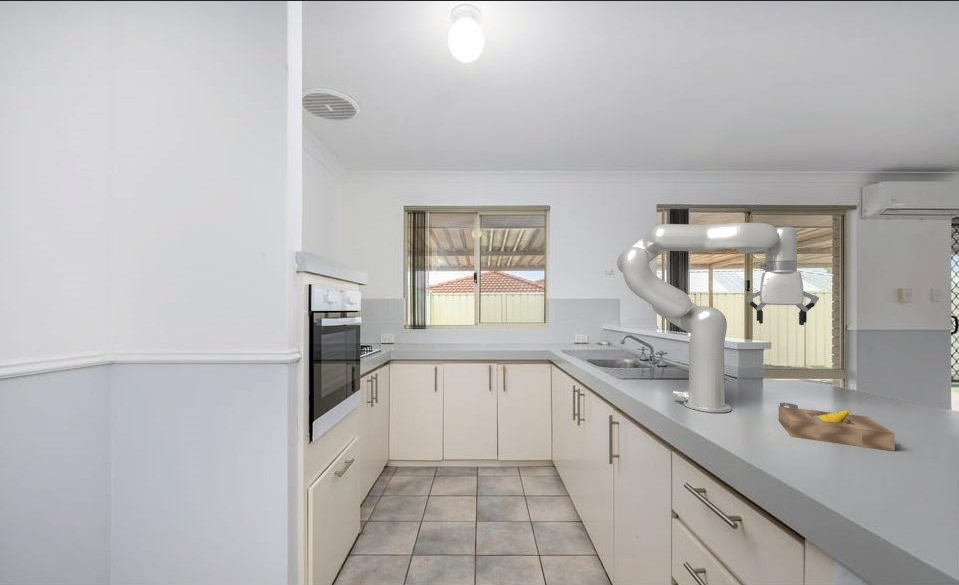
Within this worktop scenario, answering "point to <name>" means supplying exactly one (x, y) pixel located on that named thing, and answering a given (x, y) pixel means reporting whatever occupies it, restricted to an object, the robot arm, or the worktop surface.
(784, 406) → the short pin
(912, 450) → the worktop surface
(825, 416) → the yellow cone
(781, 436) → the worktop surface
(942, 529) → the worktop surface
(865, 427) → the wooden tray
